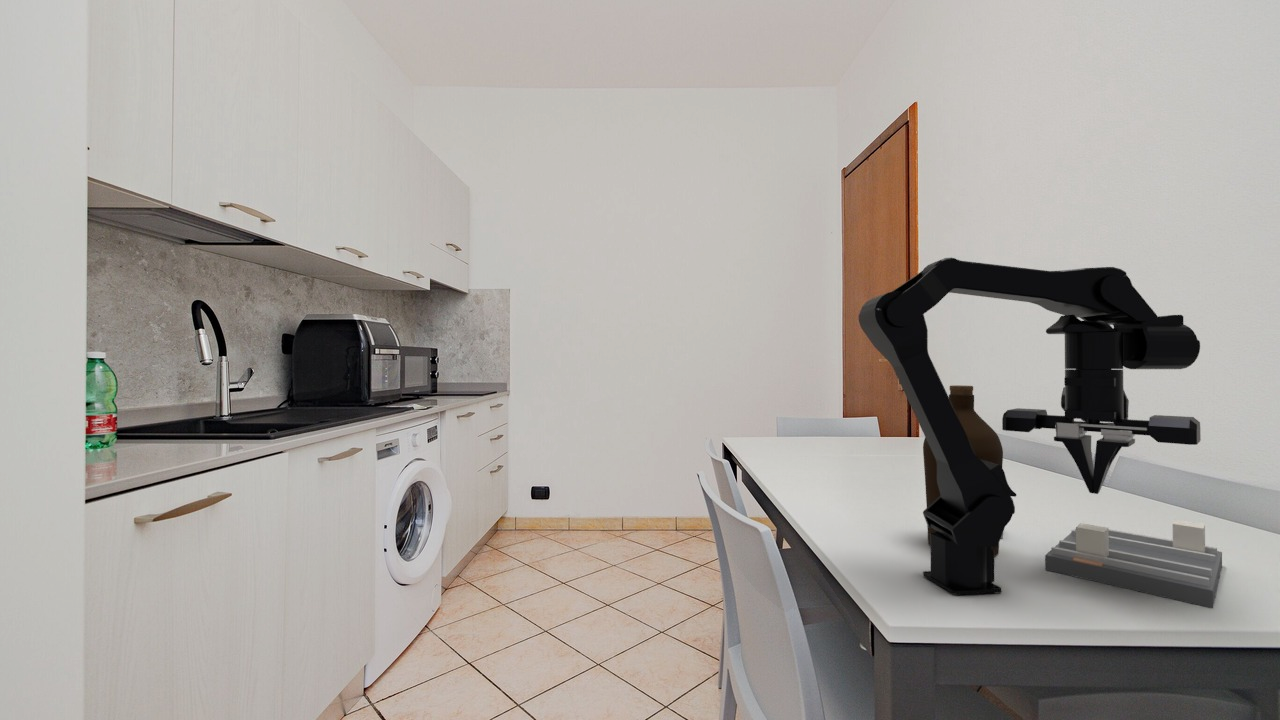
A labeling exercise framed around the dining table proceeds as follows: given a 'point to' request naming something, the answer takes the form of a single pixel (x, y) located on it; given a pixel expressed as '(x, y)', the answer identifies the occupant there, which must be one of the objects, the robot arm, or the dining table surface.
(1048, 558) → the switch panel
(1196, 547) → the tab far
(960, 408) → the olive oil
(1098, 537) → the tab near
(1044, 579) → the dining table surface
